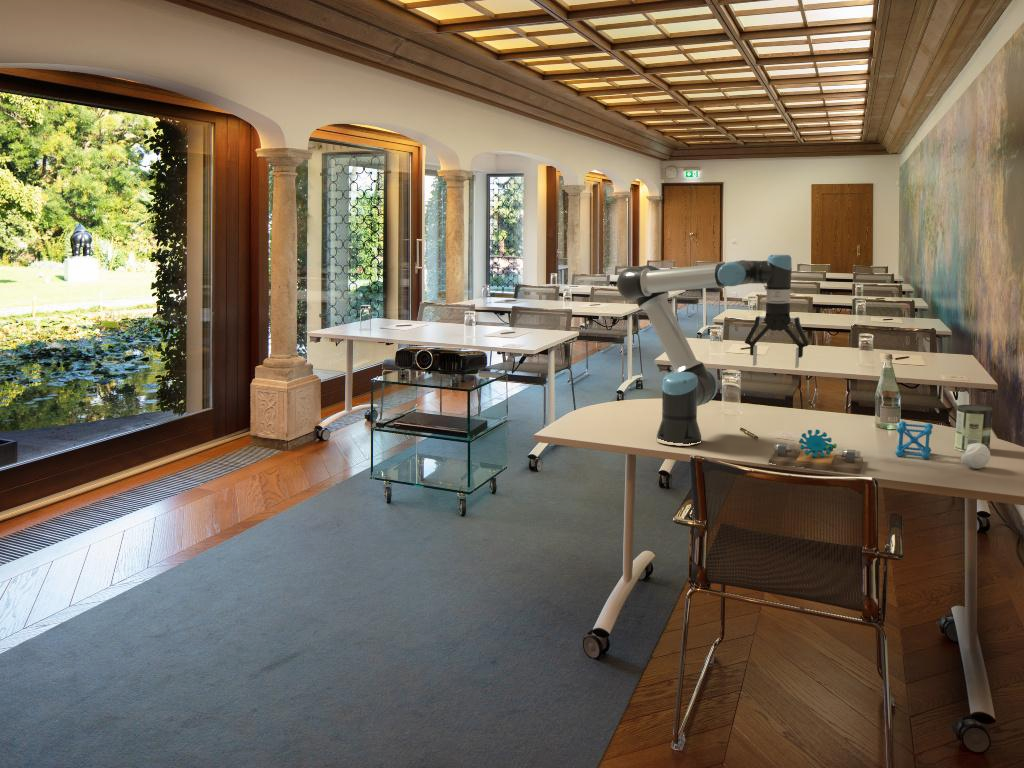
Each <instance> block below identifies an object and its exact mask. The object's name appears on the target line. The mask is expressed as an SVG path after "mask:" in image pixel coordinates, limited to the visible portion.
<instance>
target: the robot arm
mask: <svg viewBox="0 0 1024 768" xmlns="http://www.w3.org/2000/svg"><path fill="white" fill-rule="evenodd" d="M792 265H793V264H792V257H791V255H789V254H769V255H768V256H767V260H745V259H744V260H734V261H730V262H722V263H712V264H711V263H710V264H704V265H703V264H702V265H694V266H685V267H684V266H683V267H676V268H675V267H673V268H665V269H661V268H659V267H657V266H654V265H642V266H631V267H627V268H625V269H623V270H622V271H621V272H620V273H619V275H618V278H617V280H616V288H617V290H618V293H619V294H620V295H621V296H622V297H623V298H625V299H627V300H630V301H635V302H636V304H637V305H638V308H639V309H640V310H643V311H645V313H646V315H647V317H648V320H649V321H650V323H651V325H652V327H653V329H654V331H655V333H656V335H657V337H658V339H659V342H660V344H661V346H662V348H663V350H664V352H665V354H666V356H667V358H668V360H669V363H670V364H671V366H672V369H673V372H671V373H668V374H666V375H665V376H664V377H663V379H662V386H661V389H662V390H661V391H662V393H661V394H662V397H661V398H662V404H661V405H662V408H661V409H662V410H661V415H662V416H661V417H662V418H661V422H660V425H659V428H658V431H657V434H656V439H657V438H658V439H661V440H664V441H667V442H673V443H683V444H689V443H690V444H691V443H697V442H700V441H701V442H702V433H701V430H700V427H699V423H698V419H697V417H698V415H697V414H698V407H699V406H703V405H706V404H708V403H709V402H710V401H712V400H713V399H714V397H716V395H717V393H718V389H719V384H718V379H717V377H716V376H715V375H714V373H712V372H711V371H709V370H708V369H706V366H705V365H704V363H703V361H700V360H698V359H696V356H695V354H694V352H693V350H692V348H691V345H690V344H689V342H688V340H687V338H686V336H685V334H684V330H682V327H681V325H680V324H679V322H678V319H677V317H676V315H675V313H674V311H673V309H672V307H671V305H670V303H669V301H668V299H669V295H670V293H669V292H678V291H687V290H688V291H689V290H699V289H708V288H709V289H711V288H721V287H723V288H724V287H737V286H741V285H748V284H750V285H751V284H764V285H765V284H766V294H765V295H766V298H765V299H766V304H765V315H764V317H763V316H760V315H757V316H756V317H755V321H754V324H753V325H752V327H751V330H750V331H749V333H748V334H747V337H746V339H745V341H744V344H745V345H749V347H750V348H749V354H750V356H752V367H753V366H755V367H756V366H757V364H758V363H757V362H758V359H757V358H758V345H757V343H758V341H759V340H760V339H761V338H762V337H763V336H764V335H765V334H766V333H767V332H768V331H769V330H770V331H777V332H782V331H785V333H787V334H788V336H789V337H790V339H792V341H793V342H794V343H795V344H796V346H797V347H796V348H795V363H794V364H795V365H794V367H795V369H798V368H799V367H800V359H801V358H803V355H804V348H805V347H808V346H809V345H810V343H809V340H808V338H807V335H806V334H805V331H804V329H803V327H802V325H801V320H800V317H798V316H797V317H791V316H790V313H791V304H790V302H791V292H792V290H791V283H792V271H793V268H792ZM763 322H764V323H765V324H766V326H765V327H764V328H763V329H762V330H761V331H760V332H759V333H758V334H757V335H756V337H755V338H753V337H754V335H755V333H756V331H757V330H758V327H759V325H761V323H763ZM791 322H792V324H793V325H795V329H796V330H797V333H798V335H799V336H800V339H801V340H800V339H799V337H798V336H797V335H796V334H795V332H793V330H792V329H791V328H790V326H789V324H791ZM801 341H802V342H801Z"/></svg>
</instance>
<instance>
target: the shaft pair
mask: <svg viewBox="0 0 1024 768" xmlns="http://www.w3.org/2000/svg"><path fill="white" fill-rule="evenodd" d="M773 445H774V446H773V450H774V452H775V451H778V456H780V457H786V456H787V452H791V450H792V447H793V446H792V445H790V444H788V443H774V444H773ZM841 455H842V457H846V463H853V464H854V463H855V458H858V459H860V456H861V451H859V450H855V449H847V450H846V449H842V451H841Z"/></svg>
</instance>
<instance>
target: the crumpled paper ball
mask: <svg viewBox="0 0 1024 768" xmlns="http://www.w3.org/2000/svg"><path fill="white" fill-rule="evenodd" d="M989 450H990V449H988V448H987V447H986V446H985V445H984V444H981V443H974V444H969V445H967V450H966V452H963V453H962V455H961V456H960V458H961V461H962V464H963V465H964V466H966V467H968V468H970V469H974V470H976V469H982V468H984V467H986V466H987V465H988V464H989V462H990V461H991V451H989Z"/></svg>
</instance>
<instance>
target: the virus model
mask: <svg viewBox="0 0 1024 768" xmlns="http://www.w3.org/2000/svg"><path fill="white" fill-rule="evenodd" d="M820 433H821V430H820V429H815V432H814V434H813V430H812V429H807V433H805V432H803V433H802V434H801V438H800V439H799V440H798V443H799V444H801V445H800V447H799V448H800V451H802V450H803V451H805V454H806V455H809V453H811V452H812V453H813V454H812V457H813V458H816V457H817V453H818V452H821V454H820V457H824V456H825V454H824V453H823V452H824V451H825V453H826V454H830V453H832V452H833V451H834V449H837V445H838V444H837V443H831V442H832V440H833V439H832V437H827V436H828V433H827V432H826V431H823V432H822V434H820ZM807 434H808V437H807ZM812 434H813V435H812ZM819 434H820V435H819ZM826 437H827V438H826ZM804 440H805V441H804Z"/></svg>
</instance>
